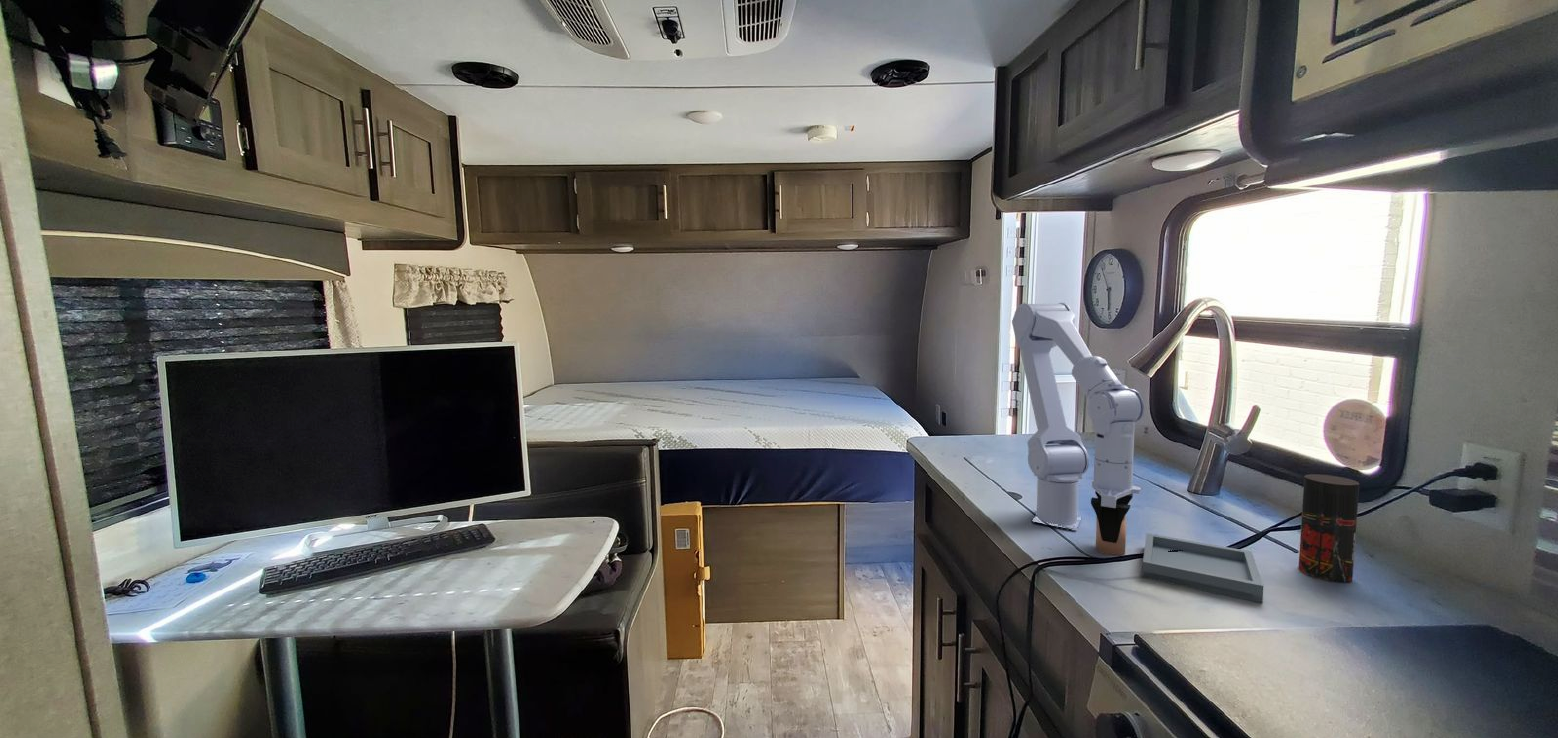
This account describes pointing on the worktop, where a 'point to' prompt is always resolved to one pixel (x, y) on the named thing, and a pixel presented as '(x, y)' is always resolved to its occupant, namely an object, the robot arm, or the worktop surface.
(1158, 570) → the tray
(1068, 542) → the worktop surface
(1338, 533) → the deodorant
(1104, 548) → the shaker
